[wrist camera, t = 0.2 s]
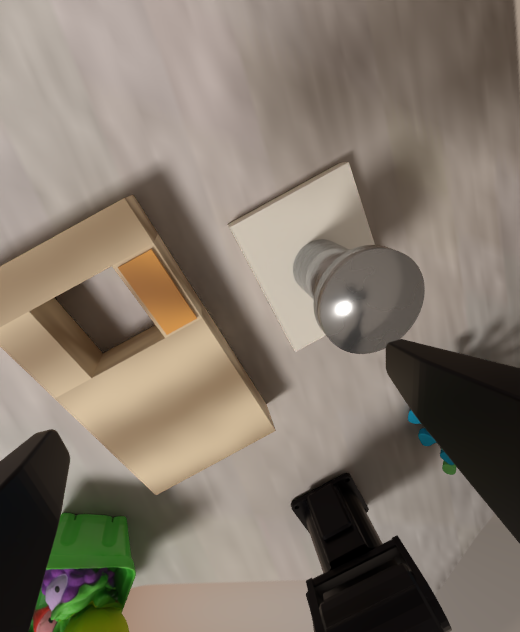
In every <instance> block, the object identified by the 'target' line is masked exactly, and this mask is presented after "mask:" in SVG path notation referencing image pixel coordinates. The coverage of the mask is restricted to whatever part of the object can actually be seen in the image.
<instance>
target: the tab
mask: <svg viewBox="0 0 520 632" xmlns="http://www.w3.org/2000/svg"><path fill="white" fill-rule="evenodd" d="M228 226H229V228H230V230H231V232H232V234H233V236H234V238H235V240H236V241H237V243H238V245H239V247H240V249H241V251H242V253H243V255H244V257H245V259H246V261H247V262H248V264H249V266H250V268H251V270H252V272H253V274H254V276H255V278H256V280H257V282H258V283H259V285H260V287H261V289H262V291H263V293H264V295H265V297H266V299H267V301H268V303H269V304H270V306H271V308H272V310H273V312H274V314H275V316H276V318H277V320H278V322H279V323H280V325H281V327H282V329H283V331H284V333H285V335H286V337H287V339H288V341H289V343H290V344H291V346H292V348H293V349H294V351H295V352H296V351H298V350H300V349H302V348H304V347H305V346H307V345H309V344H311V343H313V342H315V341H316V340H318V339H320V338H322V337H324V336H326V335H325V334H324V332H323V331H322V330H321V329H320V327H319V325H318V323H317V321H316V318H315V314H314V306H313V304H314V300H313V299H312V298H311V297H310V296H309V295H308V294H307V293H306V292H305V291H304V290H303V289H302V288H301V287H300V286H299V285H298V284H297V282H296V281H295V278H294V275H293V264H294V260H295V258H296V256H297V254H298V252H299V251H300V250H301V249H302V248H303V247H304V246H305V245H306V244H308V243H309V242H312V241H314V240H319V239H326V240H330V241H332V242H334V243H337V244H339V245H341V246H343V247H345V248H348V249H350V250H351V249H354V248H357V247H360V246H365V245H375V243H374V240H373V237H372V234H371V231H370V228H369V224H368V221H367V218H366V215H365V212H364V209H363V205H362V202H361V199H360V196H359V193H358V190H357V187H356V183H355V180H354V177H353V174H352V171H351V168H350V165H349V162H344V163H339V164H337V165H335V166H333V167H332V168H330V169H328V170H326V171H324V172H322V173H321V174H319V175H317V176H315V177H313V178H312V179H310V180H308V181H306V182H304V183H302V184H301V185H299V186H297V187H295V188H293V189H291V190H290V191H288V192H286V193H284V194H282V195H281V196H279V197H277V198H275V199H273V200H271V201H270V202H268V203H266V204H264V205H262V206H260V207H259V208H257V209H255V210H253V211H251V212H250V213H248V214H246V215H244V216H242V217H240V218H239V219H237V220H235V221H233V222H231V223H229V224H228Z"/></svg>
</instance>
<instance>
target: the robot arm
mask: <svg viewBox="0 0 520 632" xmlns="http://www.w3.org/2000/svg"><path fill="white" fill-rule="evenodd" d="M386 370H387V373H388V375H389V377H390V378H391V380H392V381H393V383H394V384H395V386H396V388H397V389H398V391H399V392H400V394H401V395H402V397H403V398H404V400H405V401H406V403H407V404H408V406H409V407H410V409H411V410H412V412H413V413H414V415H415V416H416V417H417V419H418V420H419V421H420V423H421V424H422V425H423V426H424V428H425V429H426V430H427V431H428V433H429V434H430V435H431V436H432V437H433V439H434V440H435V441H436V442H437V443H438V445H439V446H440V447H441V448H442V450H443V451H444V452H445V453H446V454H447V456H448V457H449V458H450V459H451V461H452V462H453V463H454V464H455V465H456V467H457V468H458V469H459V470H460V471H461V473H462V474H463V475H464V476H465V478H466V479H467V480H468V481H469V482H470V484H471V485H472V486H473V487H474V489H475V490H476V491H477V492H478V493H479V495H480V496H481V497H482V498H483V499H484V501H485V502H486V503H487V504H488V506H489V507H490V508H491V509H492V510H493V512H494V513H495V514H496V515H497V517H498V518H499V519H500V520H501V521H502V523H503V524H504V525H505V526H506V527H507V529H508V530H509V531H510V532H511V534H512V535H513V536H514V537H515V538H516V540H517V541H518V542H519V543H520V368H516V367H512V366H508V365H504V364H500V363H496V362H492V361H488V360H484V359H480V358H476V357H472V356H468V355H464V354H460V353H456V352H452V351H447V350H443V349H439V348H435V347H431V346H427V345H423V344H419V343H415V342H411V341H407V340H403V339H399V340H395V341H391V342H388V343H387V345H386ZM69 464H70V456H69V452H68V450H67V448H66V447H65V445H64V443H63V441H62V439H61V438H60V436H59V434H58V433H57V431H55V430H53V429H51V430H47V431H43V432H39V433H36V434H34V435H33V436H32V437H30V438H29V439H28V440H27V441H25V442H24V443H23V444H21V445H20V446H19V447H18V448H16V449H15V450H14V451H13V452H11V453H10V454H9V455H8V456H6V457H5V458H4V459H3V460H1V461H0V632H29V629H30V625H31V621H32V618H33V614H34V611H35V607H36V604H37V600H38V597H39V593H40V590H41V586H42V582H43V579H44V575H45V572H46V568H47V565H48V561H49V558H50V554H51V550H52V547H53V543H54V540H55V536H56V533H57V529H58V525H59V521H60V516H61V511H62V505H63V499H64V493H65V487H66V481H67V476H68V470H69ZM291 507H292V510H293V511H294V513H295V514H296V516H297V517H298V518H299V520H300V521H301V522H302V524H303V525H304V526H305V528H306V529H307V530H308V532H309V533H310V535H311V538H312V541H313V544H314V547H315V550H316V553H317V556H318V558H319V561H320V564H321V567H322V570H323V574H321V575H319V576H317V577H315V578H313V579H312V578H310V579H308V580H306V583H307V588H308V592H307V593H306V597H307V600H308V603H309V607H310V611H311V615H312V620H313V626H314V632H449V631H451V630H452V629H451V626H450V624H449V622H448V620H447V618H446V616H445V614H444V612H443V610H442V608H441V606H440V604H439V602H438V601H437V599H436V597H435V595H434V593H433V592H432V590H431V588H430V587H429V585H428V583H427V582H426V580H425V578H424V577H423V575H422V573H421V572H420V570H419V569H418V567H417V566H416V564H415V562H414V561H413V559H412V558H411V556H410V555H409V553H408V551H407V550H406V548H405V547H404V545H403V543H402V542H401V540H400V539H399V537H398V536H395V537H393V538H392V540H390V541H388V542H386V543H384V544H382V542H381V540H380V538H379V536H378V534H377V532H376V530H375V529H374V527H373V525H372V523H371V521H370V519H369V517H368V515H367V514H366V513H367V512H368V510H369V509H368V507H367V505H366V503H365V501H364V499H363V497H362V496H361V494H360V492H359V490H358V488H357V486H356V485H355V483H354V481H353V479H352V477H351V475H350V474H349V473H345V474H343V475H341V476H339V477H337V478H335V479H334V480H332V481H330V482H328V483H326V484H324V485H322V486H321V487H319V488H317V489H315V490H313V491H311V492H309V493H308V494H306V495H304V496H302V497H300V498H298V499H296V500H295V501H293V502H292V503H291Z"/></svg>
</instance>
